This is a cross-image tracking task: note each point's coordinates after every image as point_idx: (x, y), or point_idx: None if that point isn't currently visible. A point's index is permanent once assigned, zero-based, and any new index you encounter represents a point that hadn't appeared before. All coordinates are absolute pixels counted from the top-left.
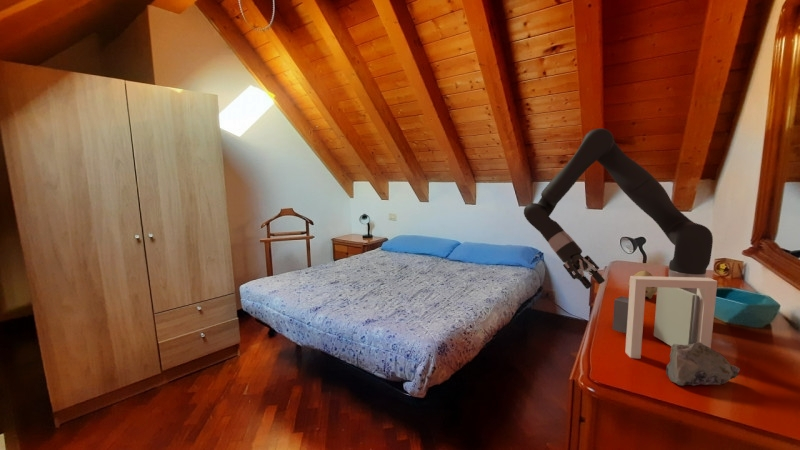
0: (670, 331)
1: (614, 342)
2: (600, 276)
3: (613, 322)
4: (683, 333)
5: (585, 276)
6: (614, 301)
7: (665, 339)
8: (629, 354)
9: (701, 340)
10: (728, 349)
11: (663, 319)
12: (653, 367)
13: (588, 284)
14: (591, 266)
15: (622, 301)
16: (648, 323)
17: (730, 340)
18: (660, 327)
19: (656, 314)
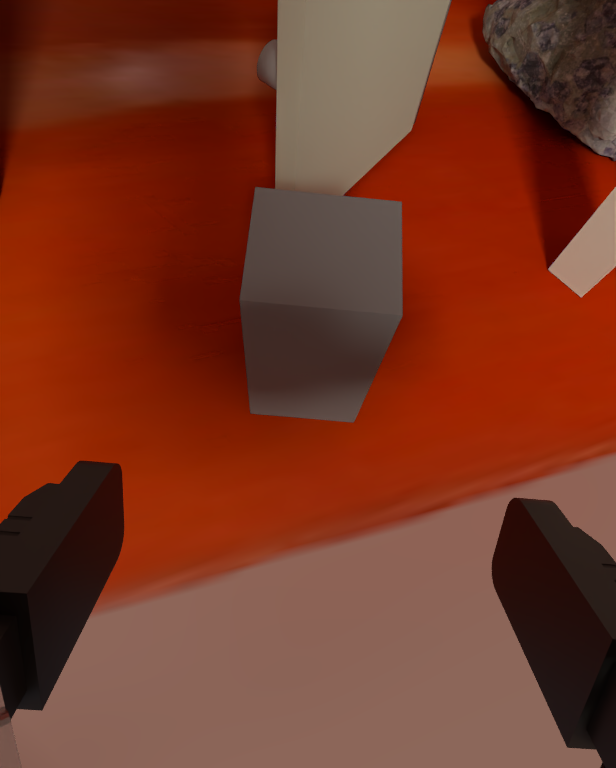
0: (367, 122)
1: (521, 361)
2: (83, 512)
3: (360, 401)
4: (420, 55)
5: (612, 630)
6: (398, 323)
7: (341, 185)
8: (610, 270)
9: None
10: (195, 56)
11: (341, 109)
12: (604, 199)
13: (584, 537)
14: (19, 761)
15: (398, 254)
16: (90, 305)
17: (81, 53)
18: (324, 168)
19: (305, 133)
